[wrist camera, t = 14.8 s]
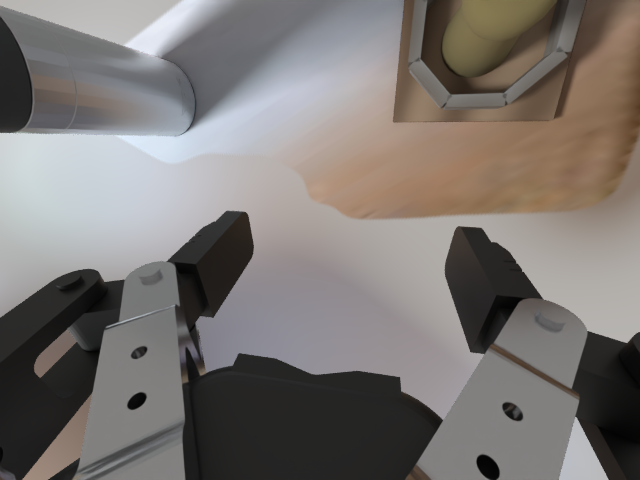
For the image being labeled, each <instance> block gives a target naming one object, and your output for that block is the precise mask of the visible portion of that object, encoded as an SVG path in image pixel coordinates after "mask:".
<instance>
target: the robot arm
mask: <svg viewBox="0 0 640 480" xmlns="http://www.w3.org/2000/svg"><path fill="white" fill-rule="evenodd" d="M194 113H195V98H194V93H193V89H192V87H191V84H190V82H189V80H188V78H187V76H186V75H185V74H184V72H183V71H182V70H181V69H180V68H179V67H178V66H177V65H175V64H174V63H172V62H170V61H167V60H164V59H161V58H158V57H155V56H152V55H149V54H146V53H143V52H140V51H137V50H134V49H131V48H128V47H125V46H122V45H119V44H116V43H113V42H110V41H107V40H104V39H100V38H98V37H94V36H91V35H88V34H85V33H82V32H79V31H76V30H73V29H70V28H67V27H64V26H61V25H58V24H55V23H52V22H49V21H46V20H43V19H40V18H37V17H34V16H30V15H27V14H24V13H21V12H18V11H15V10H12V9H9V8H5V7H2V6H0V133H37V134H38V133H39V134H94V135H138V136H178V135H181V134H182V133H184V132H185V131H186V130H187V129H188V128H189V127H190V125H191V123H192V121H193V117H194ZM253 249H254V245H253V239H252V234H251V228H250V222H249V217H248V214H247V213H246V212H239V211H226V212H225V213H224V214H223V215H222V216H221V217H220V218H219V219H218V220H217V221H216V222H212V223H211V224H209V225H207V226H205V227H203V228H202V229H201V230H200V231H199V232H198V233H196V234H195V236H193V237H192V238H191V239H190V240H189V242H187V243H186V244H185V245H184V246H183V247H182V248H180V250H178V251H177V252H176V253H175V254H174V255H173V256H172V257H171V258H170V259H169V260H168V261H167V262H163V261H162V262H161V261H160V262H153V263H149V264H146V265H144V266H141V267H139V268H137V269H136V270H134V271H133V272H131V273H130V274H129V275H128V276H127V277H126V279H125V280H119V281H110V282H104V280H103V279H102V277H101V275H100V274H99V272H98V271H96V270H93V269H83V270H78V271H74V272H71V273H68V274H65V275H63V276H61V277H58V278H57V279H55V280H53V281H52V282H50V283H49V284H47V285H46V286H44V287H43V288H42V289H40V290H39V291H37V292H36V293H35V294H33V295H32V296H30V297H29V298H28V299H26V300H25V301H23V302H22V303H20V304H19V305H18V306H16V307H15V308H14V309H12V310H11V311H9V312H8V313H6V314H5V315H4V316H2V317H1V318H0V480H22V479H23V478H24V477H25V475H26V474H27V473H28V472H29V471H30V469H31V468H32V467H33V465H34V464H35V463H36V462H37V461H38V459H39V458H40V457H41V456H42V454H43V453H44V452H45V451H46V449H47V448H48V447H49V446H50V444H51V443H52V442H53V440H54V439H55V438H56V437H57V436H58V434H59V433H60V432H61V431H62V430H63V428H64V427H65V426H66V425H67V423H68V422H69V421H70V420H71V418H72V417H73V416H74V415H75V413H76V412H77V411H78V409H79V408H80V407H81V406H82V405H83V403H84V402H85V401H86V400H87V398H88V397H89V396H90V395H91V393H92V392H93V393H92V399H91V404H90V409H89V415H88V420H87V426H86V431H85V436H84V441H83V446H82V452H81V457H80V458H79V459H77V460H76V461H74V462H73V463H72V464H70V465H69V466H67V467H66V468H64V469H63V470H62V471H60V472H59V473H57V474H56V475H54V476H53V477H51V478H50V479H48V480H559V476H560V472H561V469H562V465H563V461H564V457H565V453H566V449H567V446H568V442H569V438H570V434H571V430H572V427H573V423H574V419H575V417H577V418H578V421H579V422H580V425H581V426H582V428H583V430H584V432H585V434H586V436H587V438H588V440H589V442H590V444H591V446H592V447H593V450H594V452H595V454H596V456H597V458H598V459H599V462H600V463H601V465H602V467H603V469H604V471H605V473H606V475H607V477H608V479H609V480H640V332H638V333H637V334H635V335H634V336H633V337H632V338H631V340H630V341H629V342H628V343H624V342H621V341H618V340H615V339H611V338H608V337H605V336H602V335H599V334H595V333H592V332H589V331H587V329H586V327H585V325H584V324H583V322H582V321H581V320H580V319H579V318H578V317H577V316H576V315H575V314H573V313H572V312H570V311H569V310H567V309H565V308H564V307H562V306H560V305H558V304H555V303H553V302H550V301H547V300H543V298H542V297H541V295H540V294H539V293H538V291H537V290H536V289H535V287H534V286H533V284H532V283H531V281H530V280H529V279H528V277H527V276H526V275H525V273H524V272H522V269H521V268H520V266H519V265H518V264H516V261H515V259H514V258H513V257H512V255H511V254H510V252H509V251H507V250H506V249H505V248H503V247H502V246H500V245H499V244H498V243H495V242H491V241H490V240H489V238H488V237H487V235H486V234H485V232H484V230H483V229H482V228H476V227H460V226H458V227H457V228H456V230H455V232H454V236H453V239H452V242H451V245H450V249H449V252H448V256H447V259H446V263H445V277H446V280H447V283H448V286H449V289H450V292H451V295H452V298H453V301H454V304H455V307H456V310H457V313H458V316H459V319H460V322H461V325H462V328H463V331H464V334H465V337H466V340H467V343H468V346H469V349H470V352H473V353H481V354H485V355H484V356H483V358H482V360H481V361H480V363H479V364H478V366H477V368H476V369H475V371H474V372H473V374H472V376H471V377H470V379H469V380H468V382H467V384H466V385H465V387H464V388H463V390H462V392H461V393H460V395H459V396H458V398H457V400H456V401H455V403H454V404H453V406H452V408H451V409H450V411H449V412H448V414H447V416H446V417H445V419H444V420H442V419H441V418H440V417H439V416H438V415H437V414H436V413H435V412H433V411H432V410H431V409H430V408H429V407H427V406H426V405H425V404H423V403H422V402H420V401H419V400H417V399H415V398H414V397H412V396H410V395H408V394H406V393H403V392H401V383H400V377H395V376H388V375H382V374H374V373H368V372H361V371H352V372H341V373H332V374H321V375H313V374H310V373H307V372H305V371H303V370H301V369H298V368H296V367H293V366H291V365H289V364H287V363H284V362H282V361H280V360H278V359H274V358H268V357H261V356H254V355H247V354H241V353H239V354H238V356H237V358H236V360H235V362H234V365H233V366H228V367H223V368H219V369H216V370H213V371H210V372H208V373H206V369H205V363H204V357H203V352H202V346H201V341H200V335H199V329H198V325H197V323H196V321H197V319H198V318H199V317H200V316H205V317H212V318H213V317H214V316H215V314H216V313H217V311H218V310H219V308H220V306H221V305H222V303H223V302H224V300H225V299H226V297H227V296H228V294H229V293H230V291H231V289H232V288H233V286H234V285H235V283H236V281H237V280H238V278H239V277H240V275H241V274H242V272H243V271H244V269H245V267H246V266H247V265H248V263H249V261H250V260H251V258H252V255H253ZM65 330H68V331H69V332H70V333H71V335H72V336H73V337H74V338H75V340H76V341H77V342H76V343H75V344H74V345H73V346H72V348H70V349H69V350H68V352H66V353H65V355H63V356H62V357H61V358H60V359H59V360H58V361H57V362H56V363H55V364H54V365H53V366H52V367H51V368H50V369H49V370H48V371H47V372H46V373H45V374H44V375H43V376H42V377H41V378H39V377H38V376H37V375H36V374H35V372H34V364H35V361H36V359H37V357H38V356H39V355H40V353H42V352H43V351H44V350H45V349H46V348H47V347H48V346H49V345H50V344H51V343H52V342H53V341H55V339H57V338H58V337H59V336H60V335H61V334H62V333H63V332H64V331H65Z"/></svg>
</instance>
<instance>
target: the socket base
mask: <svg viewBox="0 0 640 480" xmlns="http://www.w3.org/2000/svg"><path fill="white" fill-rule="evenodd" d="M586 1H587V0H557V2H556V3H555V4H554V5H553V7H552V8H551V9H550V10H549V12H548V13H547V14H546V15H545V16H544V17H543V18H542V19H541V20H540V21H539V22H537V23H536V24H535V25H534V26H532V27H531V28H530V29H529V30H527V31H526V32H524V33H522V34H521V35H520V37H519V38H518V40H517V42H516V44H515V45H514V47H513V49H512V50H511V52H510V53H509V55H508V56H507V57H506V59H505V60H504V61H503V62H502V64H500V65H499V66H498V67H496V68H495V69H494V70H493V71H491V72H489V73H487V74H485V75H482V76H480V77H474V78H465V77H460V76H457V75H455V74H454V73H452V72H451V71H449V69H448V68H447V66H446V65H445V63H444V62H443V58H442V54H441V42H442V37H443V34H444V31H445V29H446V26H447V25H448V23H449V22H450V20H451V19H452V17H453V16H454V14H455V13H456V11H457V10H458V9H459V7H460V6H461V4H462V0H404V11H403V21H402V32H401V43H400V53H399V64H398V74H397V85H396V96H395V106H394V117H393V122H484V121H551V120H553V119H554V115H555V112H556V108H557V104H558V101H559V97H560V94H561V90H562V87H563V83H564V79H565V76H566V72H567V69H568V65H569V62H570V58H571V54H572V51H573V47H574V44H575V40H576V37H577V33H578V29H579V26H580V22H581V19H582V15H583V12H584V8H585V4H586Z"/></svg>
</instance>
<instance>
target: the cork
mask: <svg viewBox="0 0 640 480" xmlns="http://www.w3.org/2000/svg"><path fill="white" fill-rule="evenodd" d="M556 2H557V0H462V4H461V6H460V7H459V9H458V10H457V11H456V13H455V14H454V16H453V17H452V19H451V20H450V22H449V23H448V25H447V26H446V29H445V31H444V34H443V37H442V42H441V54H442V58H443V62H444V63H445V65H446V66H447V68H448V69H449V71H451V72H452V73H454V74H455V75H457V76H460V77H465V78H474V77H480V76H482V75H485V74H487V73H489V72H491V71H493V70H494V69H495V68H496V67H498V66H499V65H500V64H502V62H503V61H504V60H505V59H506V57H507V56H508V55H509V53H510V52H511V50H512V49H513V47H514V45H515V44H516V42H517V40H518V38H519V37H520V35H521V34H522V33H524V32H526V31H527V30H529V29H530V28H531V27H532V26H534V25H535V24H536V23H537V22H539V21H540V20H541V19H542V18H543V17H544V16H545V15H546V14H547V13H548V12H549V10H550V9H551V8H552V7H553V5H554V4H555V3H556Z"/></svg>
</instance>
